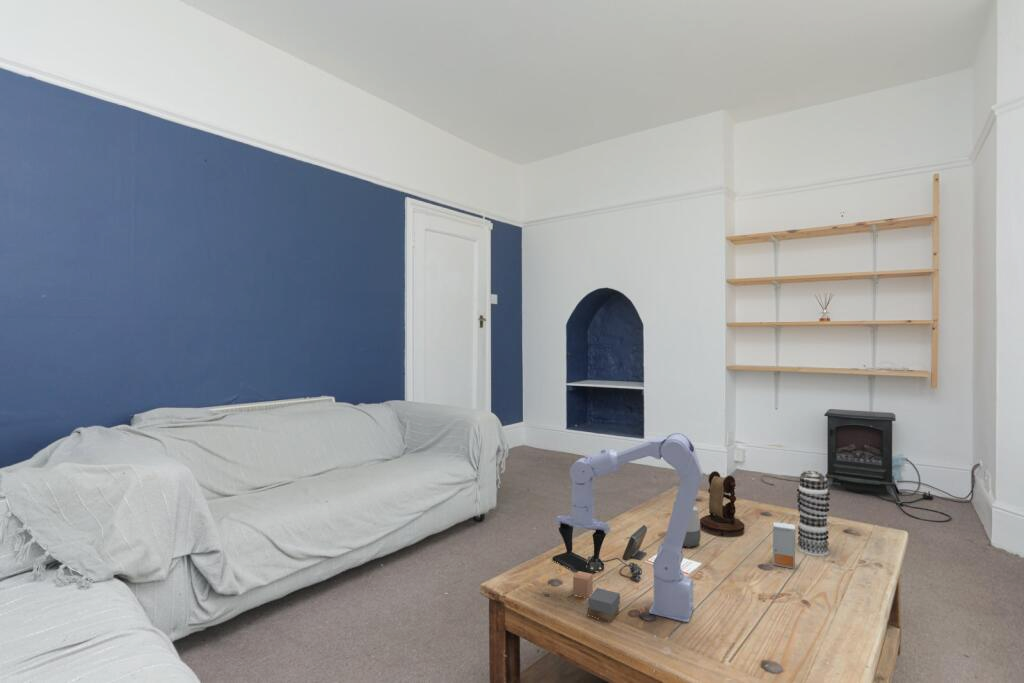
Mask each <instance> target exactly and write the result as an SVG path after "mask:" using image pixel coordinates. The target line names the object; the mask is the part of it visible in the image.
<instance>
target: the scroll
mask: <svg viewBox="0 0 1024 683" xmlns="http://www.w3.org/2000/svg"><path fill="white" fill-rule="evenodd" d="M708 484H709V488H708V490H707V491H708V494H709V498H708V510H709V511H708V513H709V514H707V515H704V516H702V517H700V518H699V523H700V528H704V529H706V530H709V531H711V532H716V533H720V536H721V537H724V536H725V534H737V533H743V532H744V530H745V529H746V528H745V526H746V525H745V524H744V522H743V521H741V520H740V519H738V518H737V517H736V505H735V502H736V501H737V497H736V496H735V495H736V492H735V489H736V488H735V487H736V480H735V477H734V476H732V475H727V476H725V477H724V478H723V477H721V473H719V472H718V471H717V470H714V471H712V472H710V474H709V476H708ZM729 494H730V495H729ZM724 498H725V499H727V500H729V501H728V502H727V503H725V505H724Z"/></svg>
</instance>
